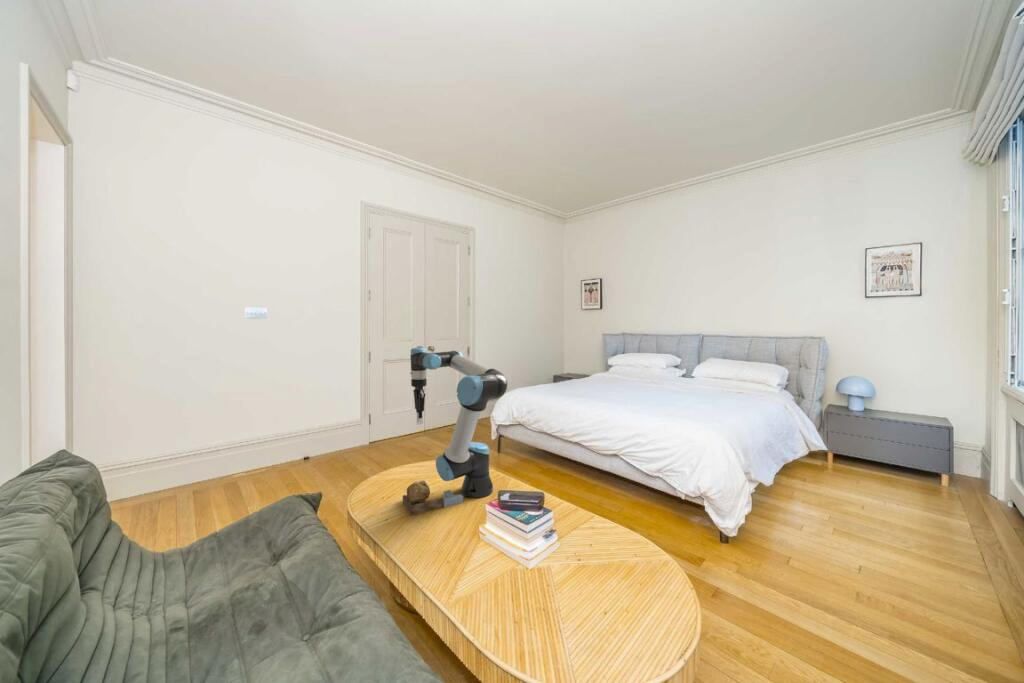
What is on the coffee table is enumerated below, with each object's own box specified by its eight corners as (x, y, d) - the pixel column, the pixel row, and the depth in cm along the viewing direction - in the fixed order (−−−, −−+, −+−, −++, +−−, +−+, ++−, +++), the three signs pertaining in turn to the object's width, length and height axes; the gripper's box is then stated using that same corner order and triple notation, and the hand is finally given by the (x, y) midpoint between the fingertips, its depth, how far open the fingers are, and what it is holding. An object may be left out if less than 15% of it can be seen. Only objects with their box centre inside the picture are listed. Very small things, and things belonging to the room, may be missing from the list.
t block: (455, 494, 186) (455, 488, 186) (463, 502, 178) (463, 496, 178) (437, 499, 182) (437, 492, 181) (444, 507, 174) (444, 501, 174)
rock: (405, 499, 182) (405, 478, 181) (427, 495, 186) (427, 474, 185) (409, 511, 171) (408, 489, 170) (433, 506, 175) (432, 485, 174)
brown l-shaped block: (434, 495, 185) (434, 488, 185) (443, 506, 175) (443, 499, 174) (402, 503, 178) (402, 495, 178) (410, 515, 167) (409, 507, 167)
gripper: (407, 376, 202) (409, 421, 204) (415, 380, 191) (416, 428, 193) (422, 375, 206) (423, 419, 208) (430, 379, 195) (430, 426, 197)
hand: (419, 423), depth 200 cm, fingers closed
